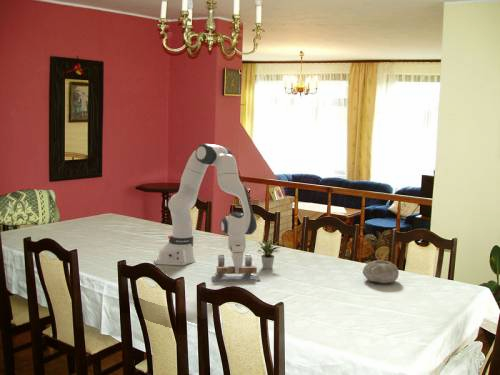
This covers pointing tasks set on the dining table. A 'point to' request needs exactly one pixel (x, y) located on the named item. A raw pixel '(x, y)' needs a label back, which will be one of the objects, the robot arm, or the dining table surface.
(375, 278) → the grey flattened round lump
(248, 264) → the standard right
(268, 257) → the house plant
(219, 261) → the standard left
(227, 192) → the robot arm
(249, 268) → the rail
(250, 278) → the pad
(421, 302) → the dining table surface
